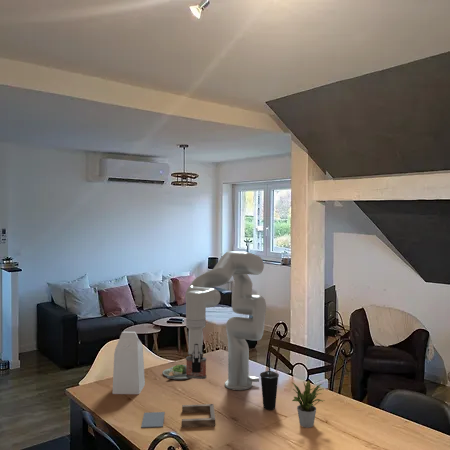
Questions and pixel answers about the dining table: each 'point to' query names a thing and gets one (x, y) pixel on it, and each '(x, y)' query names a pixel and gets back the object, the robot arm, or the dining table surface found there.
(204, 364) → the lighter
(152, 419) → the grey mat
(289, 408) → the dining table surface
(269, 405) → the drinking cup
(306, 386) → the house plant
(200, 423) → the walnut stand
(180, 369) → the salad plate
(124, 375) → the milk
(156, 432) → the dining table surface
